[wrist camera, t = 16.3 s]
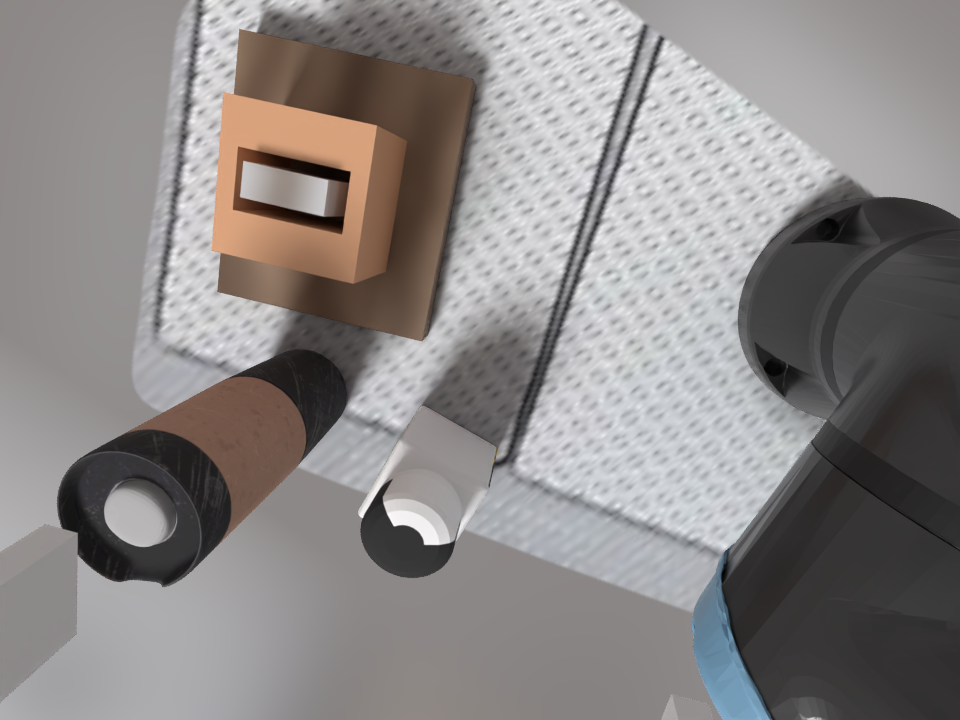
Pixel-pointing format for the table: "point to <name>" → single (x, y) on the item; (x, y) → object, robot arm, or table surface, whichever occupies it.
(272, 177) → the stand
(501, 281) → the table surface
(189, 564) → the travel mug
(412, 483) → the medicine bottle
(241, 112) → the tan cube with window
